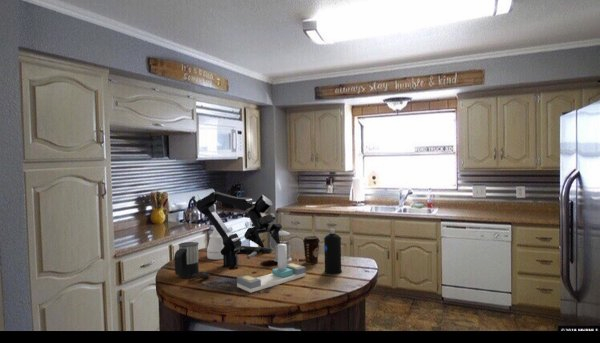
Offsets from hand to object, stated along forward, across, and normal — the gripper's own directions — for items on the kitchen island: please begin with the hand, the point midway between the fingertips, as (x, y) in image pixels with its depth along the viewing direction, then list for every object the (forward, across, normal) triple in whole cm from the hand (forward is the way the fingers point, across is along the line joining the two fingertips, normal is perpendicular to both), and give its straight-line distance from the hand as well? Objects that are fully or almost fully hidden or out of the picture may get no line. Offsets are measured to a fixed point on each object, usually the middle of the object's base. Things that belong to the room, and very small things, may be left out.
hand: (271, 245), depth 167 cm
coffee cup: (+9, +26, +10) cm, 30 cm away
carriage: (+14, 0, +3) cm, 14 cm away
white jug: (-24, -1, +43) cm, 49 cm away
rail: (+15, -6, +4) cm, 16 cm away
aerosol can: (+22, +23, -2) cm, 32 cm away
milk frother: (-6, -27, +26) cm, 38 cm away
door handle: (-17, +15, +37) cm, 44 cm away
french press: (-2, +19, +22) cm, 29 cm away
